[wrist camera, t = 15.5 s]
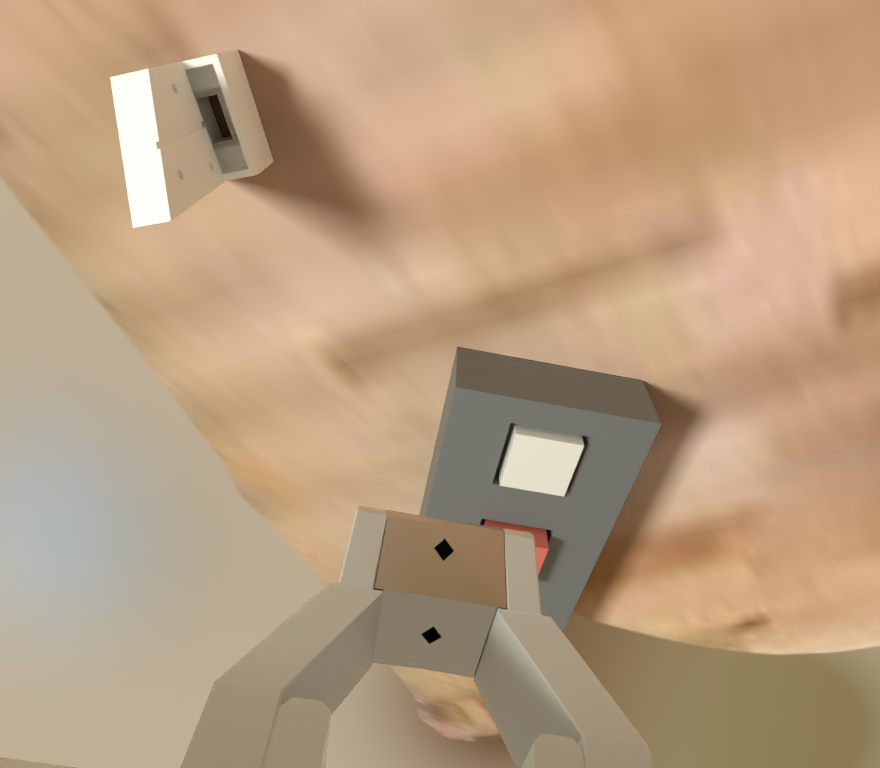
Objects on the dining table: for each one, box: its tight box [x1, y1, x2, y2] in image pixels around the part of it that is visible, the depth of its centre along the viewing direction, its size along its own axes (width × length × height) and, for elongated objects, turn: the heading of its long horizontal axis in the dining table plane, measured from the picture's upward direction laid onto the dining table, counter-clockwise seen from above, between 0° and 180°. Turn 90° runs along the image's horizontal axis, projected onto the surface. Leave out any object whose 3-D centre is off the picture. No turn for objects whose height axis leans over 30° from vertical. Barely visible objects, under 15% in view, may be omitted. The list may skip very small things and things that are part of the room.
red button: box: [480, 519, 549, 574], centre depth 45 cm, size 4×4×5 cm
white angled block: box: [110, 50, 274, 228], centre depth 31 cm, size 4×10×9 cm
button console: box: [420, 347, 662, 632], centre depth 46 cm, size 13×26×5 cm, turn 170°
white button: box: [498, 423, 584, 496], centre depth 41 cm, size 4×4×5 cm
